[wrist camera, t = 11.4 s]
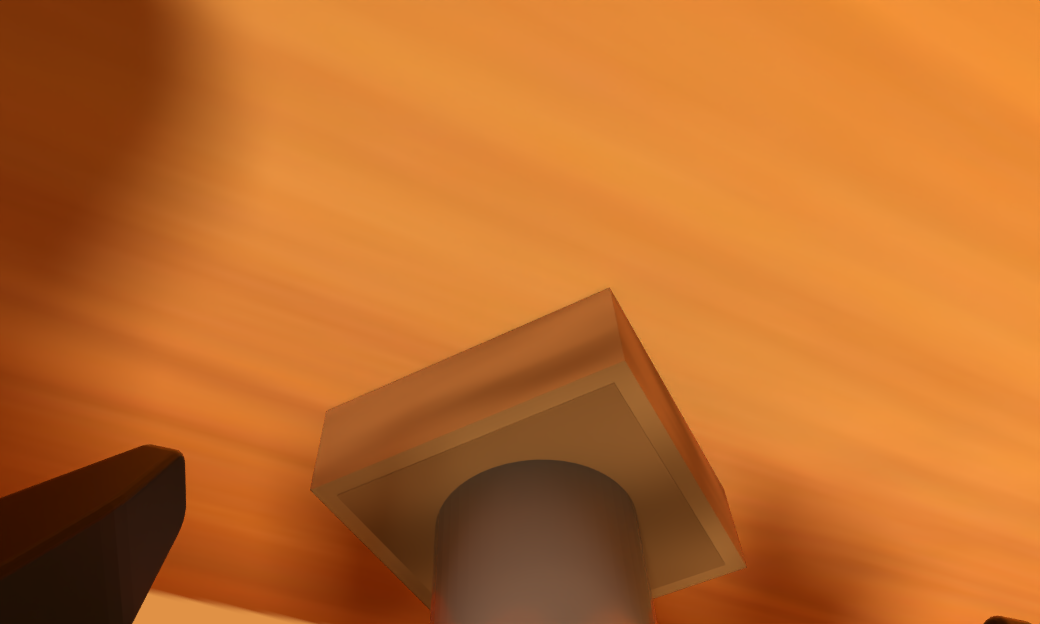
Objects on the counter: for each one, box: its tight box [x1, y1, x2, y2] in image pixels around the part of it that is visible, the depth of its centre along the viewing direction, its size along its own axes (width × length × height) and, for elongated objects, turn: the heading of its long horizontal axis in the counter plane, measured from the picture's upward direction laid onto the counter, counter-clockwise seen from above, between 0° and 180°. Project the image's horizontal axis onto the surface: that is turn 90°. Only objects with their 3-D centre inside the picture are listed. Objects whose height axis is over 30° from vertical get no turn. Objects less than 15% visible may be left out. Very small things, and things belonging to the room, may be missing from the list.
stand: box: [310, 288, 747, 610], centre depth 25 cm, size 9×9×3 cm
